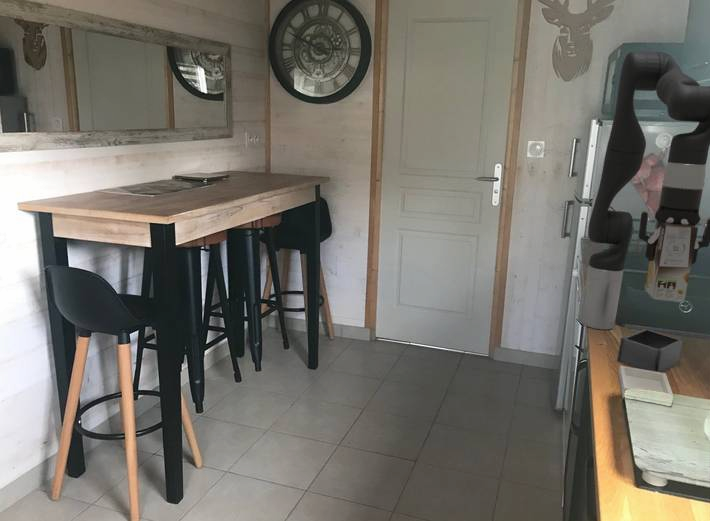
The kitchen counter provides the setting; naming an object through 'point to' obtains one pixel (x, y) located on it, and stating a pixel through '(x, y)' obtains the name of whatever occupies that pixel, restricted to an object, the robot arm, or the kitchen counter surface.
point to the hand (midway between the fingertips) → (669, 262)
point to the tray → (643, 380)
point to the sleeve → (650, 350)
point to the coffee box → (671, 262)
